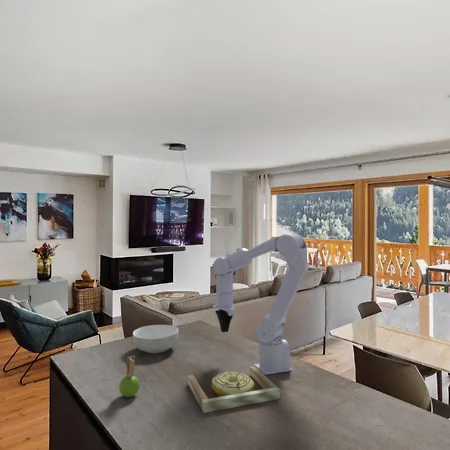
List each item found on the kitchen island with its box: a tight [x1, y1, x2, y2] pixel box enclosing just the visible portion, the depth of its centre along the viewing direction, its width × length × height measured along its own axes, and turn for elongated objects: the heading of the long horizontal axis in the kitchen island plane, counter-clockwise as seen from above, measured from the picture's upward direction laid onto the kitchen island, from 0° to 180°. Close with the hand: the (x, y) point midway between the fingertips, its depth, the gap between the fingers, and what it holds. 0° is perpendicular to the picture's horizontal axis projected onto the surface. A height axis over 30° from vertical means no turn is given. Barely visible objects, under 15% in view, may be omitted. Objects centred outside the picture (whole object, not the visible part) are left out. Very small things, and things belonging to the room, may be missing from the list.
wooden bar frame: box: [187, 365, 281, 413], centre depth 100 cm, size 21×16×2 cm
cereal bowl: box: [132, 324, 179, 354], centre depth 133 cm, size 17×17×7 cm
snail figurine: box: [118, 355, 141, 398], centre depth 97 cm, size 5×6×12 cm
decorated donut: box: [211, 371, 255, 397], centre depth 100 cm, size 11×12×4 cm
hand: (224, 331), depth 124 cm, fingers closed
